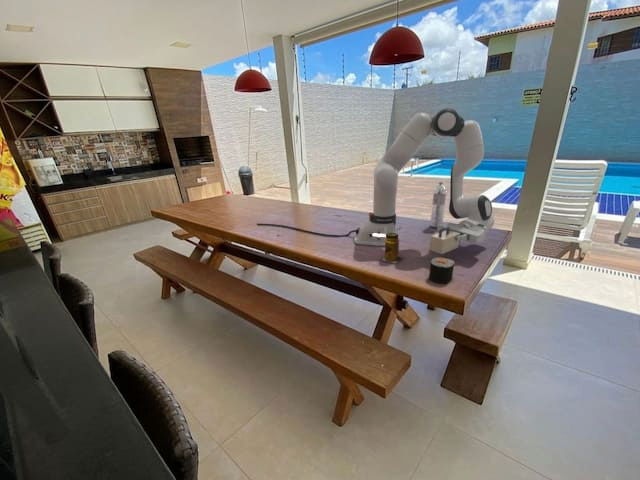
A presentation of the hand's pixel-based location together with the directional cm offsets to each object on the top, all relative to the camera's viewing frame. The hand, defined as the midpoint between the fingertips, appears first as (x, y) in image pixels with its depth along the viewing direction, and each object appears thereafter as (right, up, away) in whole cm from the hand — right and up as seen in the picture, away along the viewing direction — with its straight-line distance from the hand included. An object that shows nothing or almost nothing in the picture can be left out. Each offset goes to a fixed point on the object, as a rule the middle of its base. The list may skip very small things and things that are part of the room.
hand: (448, 236), depth 132 cm
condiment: (-23, -10, +8) cm, 26 cm away
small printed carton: (-1, -5, +1) cm, 5 cm away
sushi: (-8, -18, -11) cm, 22 cm away
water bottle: (+10, +10, +45) cm, 47 cm away
